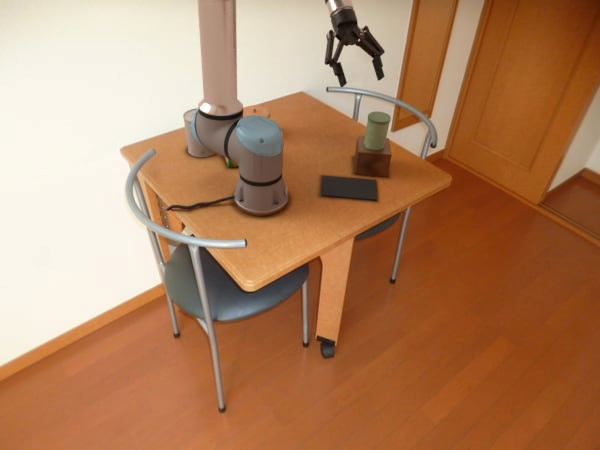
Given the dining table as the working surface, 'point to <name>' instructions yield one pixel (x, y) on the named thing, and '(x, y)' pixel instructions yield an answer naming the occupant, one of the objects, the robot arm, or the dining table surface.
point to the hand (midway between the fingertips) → (362, 82)
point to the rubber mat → (349, 188)
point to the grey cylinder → (193, 146)
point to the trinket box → (256, 111)
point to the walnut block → (372, 159)
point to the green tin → (376, 130)
